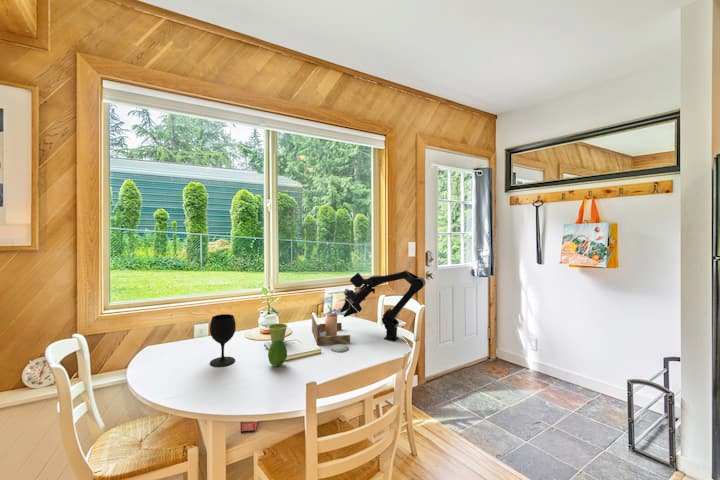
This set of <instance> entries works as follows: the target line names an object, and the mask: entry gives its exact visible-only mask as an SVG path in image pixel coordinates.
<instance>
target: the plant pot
mask: <svg viewBox="0 0 720 480" xmlns="http://www.w3.org/2000/svg"><path fill="white" fill-rule="evenodd" d="M287 328H288V324H285V323H273V324H269V325H268V329H269V333H270V340H271V343H272V342H273V341H274V339H276V338H279V339H281V340H282V341H284V342H285V337H286V331H287Z"/></svg>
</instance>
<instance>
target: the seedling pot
mask: <svg viewBox="0 0 720 480" xmlns="http://www.w3.org/2000/svg"><path fill="white" fill-rule="evenodd" d="M324 319H325V321H324V322H325V331H324V336H338V330H337V323H338V314H337V313H335V312H327V313H326V314H325V318H324Z"/></svg>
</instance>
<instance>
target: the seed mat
mask: <svg viewBox="0 0 720 480" xmlns="http://www.w3.org/2000/svg"><path fill="white" fill-rule="evenodd" d="M349 348H350V347H349V346H348V345H346V344H332V345H331V346H330V351H332V352H334V353H344V352H347V351H349Z"/></svg>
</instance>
